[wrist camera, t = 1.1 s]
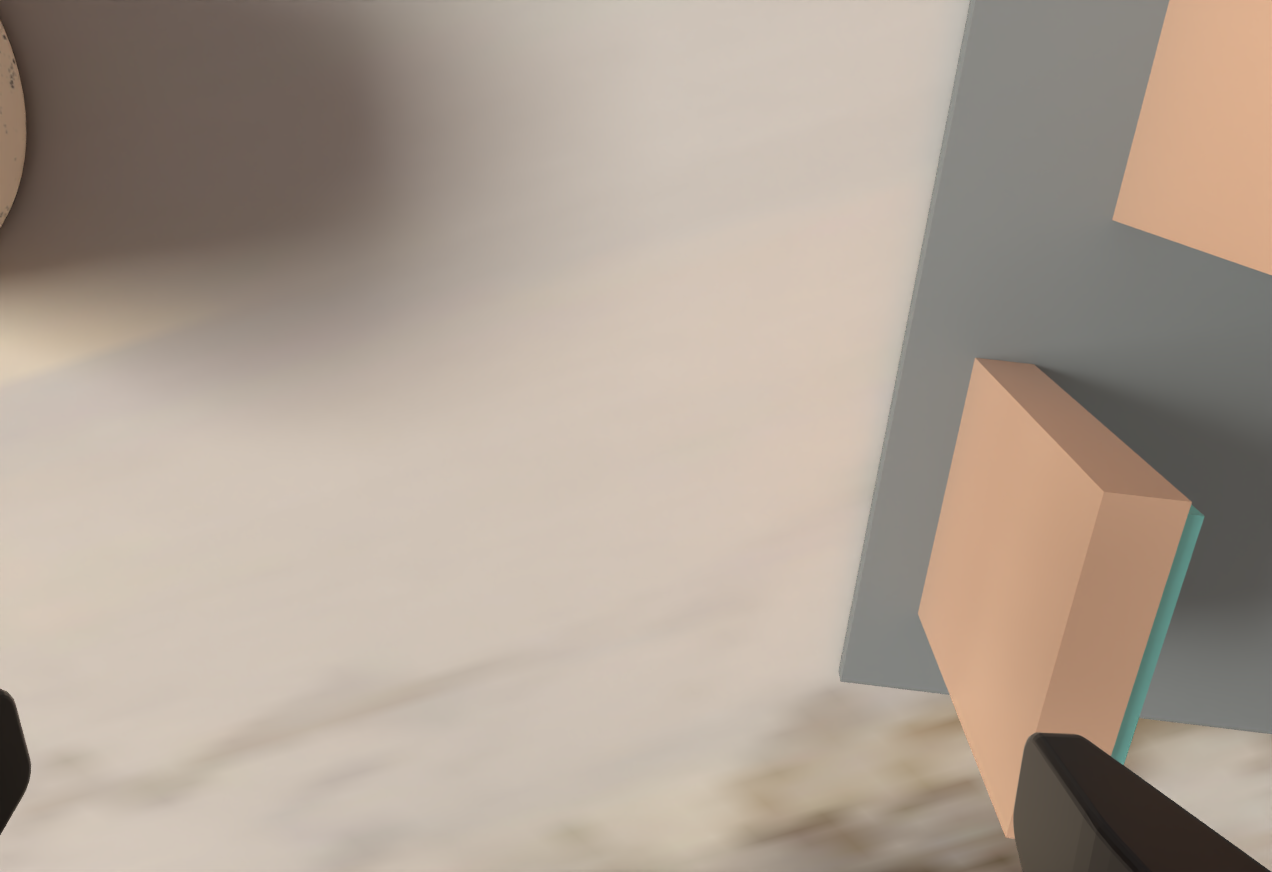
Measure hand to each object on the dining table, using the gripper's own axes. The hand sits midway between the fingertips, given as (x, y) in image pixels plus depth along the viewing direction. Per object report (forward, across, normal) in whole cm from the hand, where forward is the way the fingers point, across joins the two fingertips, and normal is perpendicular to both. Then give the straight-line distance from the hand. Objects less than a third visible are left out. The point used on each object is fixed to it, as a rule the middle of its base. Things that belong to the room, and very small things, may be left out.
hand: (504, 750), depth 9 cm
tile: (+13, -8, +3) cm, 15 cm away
